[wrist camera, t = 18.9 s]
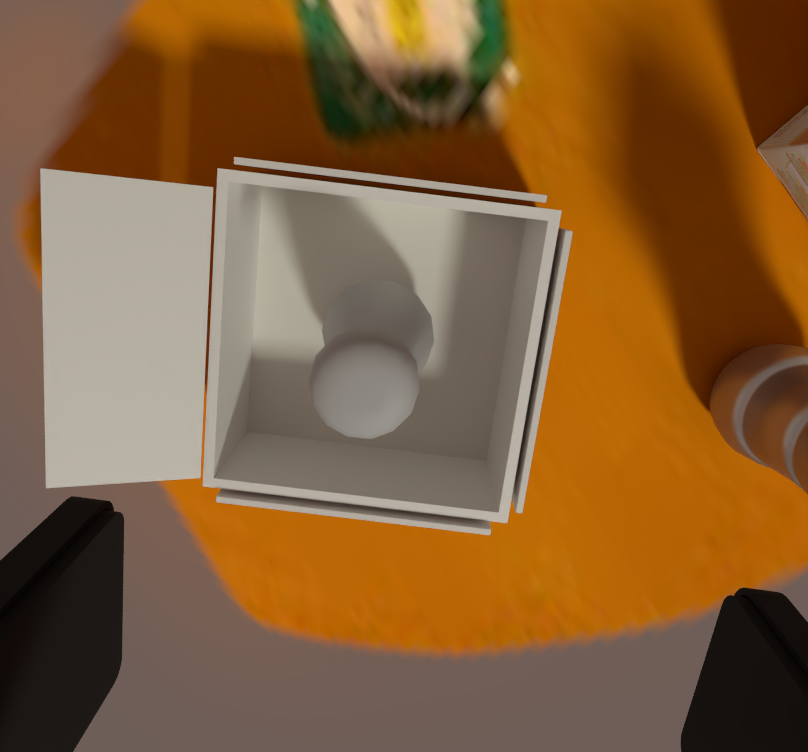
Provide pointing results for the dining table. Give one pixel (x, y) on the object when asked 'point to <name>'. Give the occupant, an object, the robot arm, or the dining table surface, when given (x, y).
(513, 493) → the carton
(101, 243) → the flap
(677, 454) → the dining table surface
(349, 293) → the salt shaker
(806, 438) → the plastic bottle
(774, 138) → the coffeecake box
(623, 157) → the dining table surface
